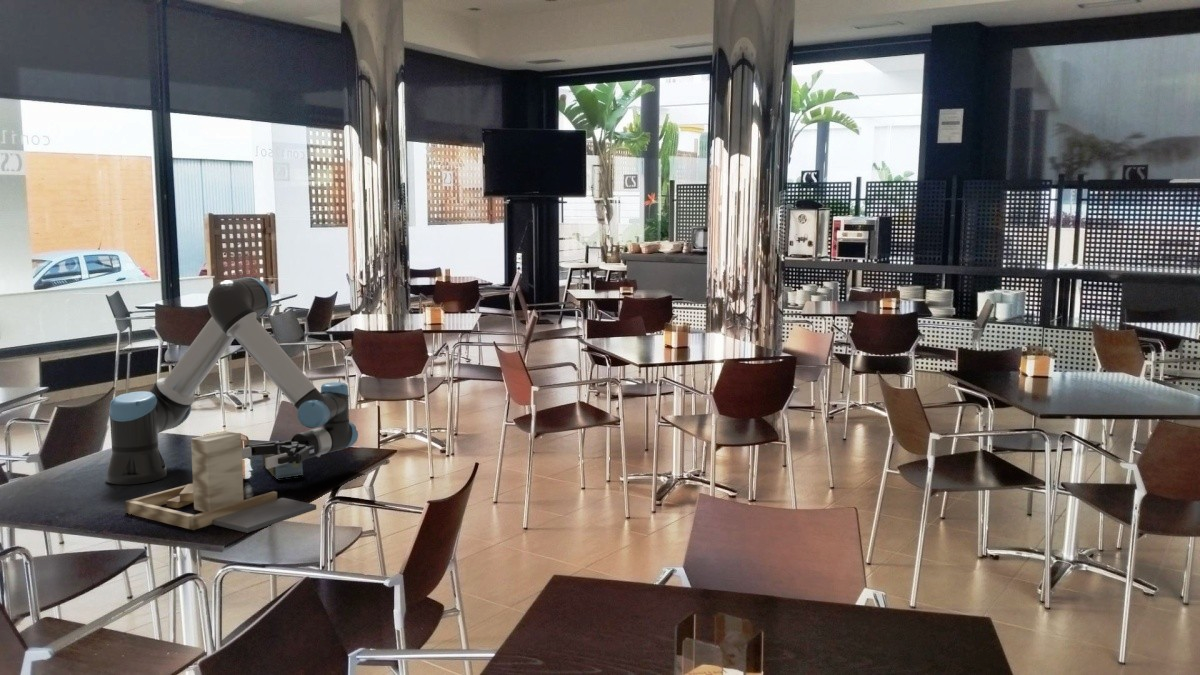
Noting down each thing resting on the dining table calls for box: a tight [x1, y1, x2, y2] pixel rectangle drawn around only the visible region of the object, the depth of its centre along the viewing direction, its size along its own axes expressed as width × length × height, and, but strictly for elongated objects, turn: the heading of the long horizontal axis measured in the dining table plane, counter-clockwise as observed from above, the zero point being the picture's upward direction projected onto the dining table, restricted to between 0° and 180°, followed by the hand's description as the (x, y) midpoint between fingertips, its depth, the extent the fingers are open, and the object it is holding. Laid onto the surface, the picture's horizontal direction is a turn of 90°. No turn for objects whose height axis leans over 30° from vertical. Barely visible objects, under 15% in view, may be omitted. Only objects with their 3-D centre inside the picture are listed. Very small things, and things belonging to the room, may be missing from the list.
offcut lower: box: [166, 496, 194, 509], centre depth 242 cm, size 4×11×2 cm, turn 162°
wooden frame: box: [124, 482, 278, 531], centre depth 236 cm, size 26×24×3 cm
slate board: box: [212, 497, 317, 534], centre depth 229 cm, size 12×21×1 cm, turn 150°
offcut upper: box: [180, 483, 194, 501], centre depth 241 cm, size 3×9×2 cm, turn 11°
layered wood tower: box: [190, 430, 245, 513], centre depth 237 cm, size 6×10×18 cm, turn 150°
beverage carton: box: [262, 450, 304, 480], centre depth 272 cm, size 8×19×7 cm, turn 29°
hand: (248, 460), depth 244 cm, fingers open, 13 cm apart
